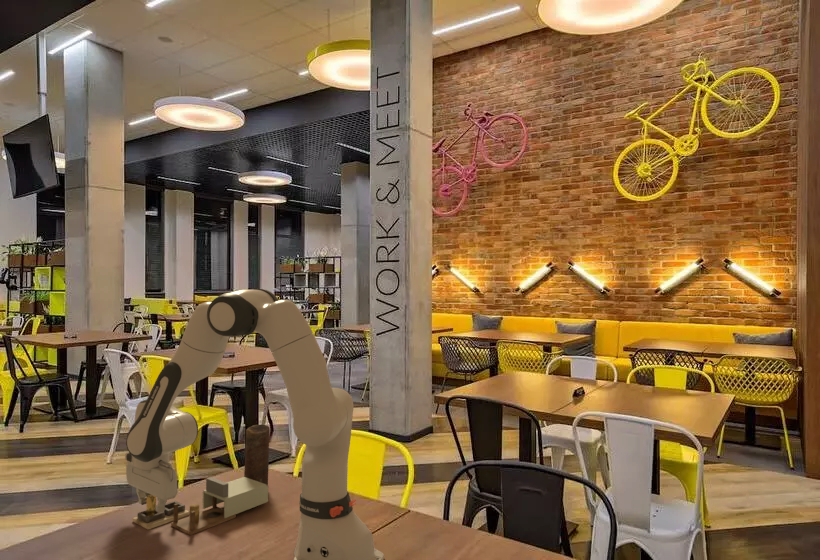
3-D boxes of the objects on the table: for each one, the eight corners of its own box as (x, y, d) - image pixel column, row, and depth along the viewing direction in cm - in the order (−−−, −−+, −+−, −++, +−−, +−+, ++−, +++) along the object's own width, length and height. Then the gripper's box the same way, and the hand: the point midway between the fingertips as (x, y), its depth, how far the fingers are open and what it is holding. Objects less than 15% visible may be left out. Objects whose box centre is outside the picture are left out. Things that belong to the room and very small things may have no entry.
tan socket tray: (189, 514, 160) (189, 505, 160) (148, 529, 150) (148, 520, 150) (173, 507, 165) (173, 499, 165) (132, 521, 155) (132, 512, 155)
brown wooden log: (273, 488, 181) (273, 425, 180) (260, 496, 174) (261, 431, 174) (252, 485, 183) (252, 423, 183) (238, 493, 176) (239, 429, 176)
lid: (268, 501, 166) (268, 472, 166) (225, 518, 155) (225, 486, 155) (245, 493, 173) (245, 464, 173) (202, 508, 161) (202, 477, 161)
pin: (157, 517, 155) (158, 495, 155) (149, 520, 153) (149, 498, 153) (153, 515, 157) (153, 493, 157) (144, 518, 155) (144, 496, 155)
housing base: (235, 517, 158) (236, 497, 158) (190, 535, 147) (190, 513, 147) (216, 509, 164) (216, 489, 164) (171, 525, 153) (171, 504, 153)
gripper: (184, 461, 151) (183, 513, 151) (143, 447, 163) (143, 495, 163) (161, 468, 146) (161, 521, 146) (121, 452, 158) (121, 502, 158)
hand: (151, 507), depth 155 cm, fingers open, 7 cm apart
